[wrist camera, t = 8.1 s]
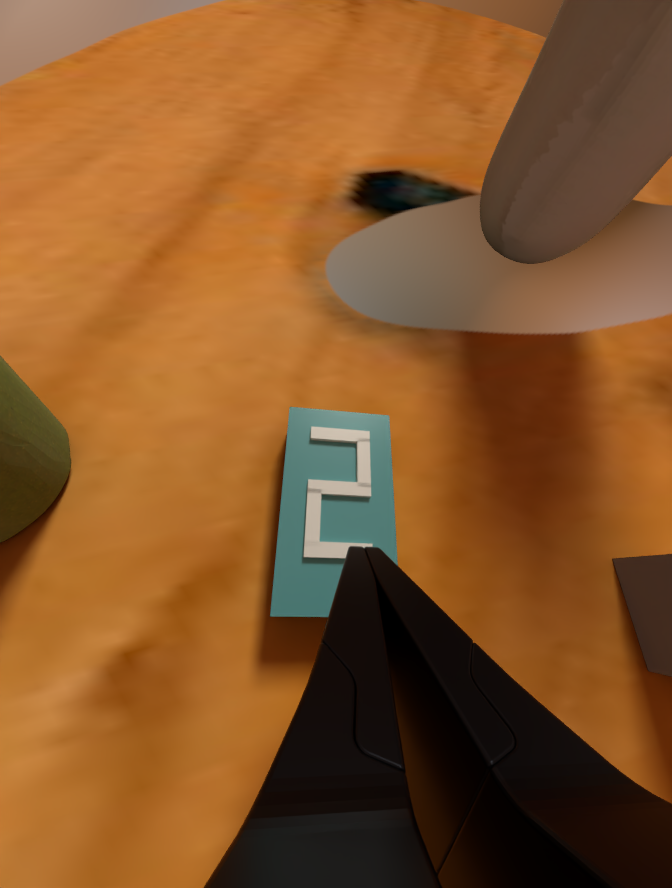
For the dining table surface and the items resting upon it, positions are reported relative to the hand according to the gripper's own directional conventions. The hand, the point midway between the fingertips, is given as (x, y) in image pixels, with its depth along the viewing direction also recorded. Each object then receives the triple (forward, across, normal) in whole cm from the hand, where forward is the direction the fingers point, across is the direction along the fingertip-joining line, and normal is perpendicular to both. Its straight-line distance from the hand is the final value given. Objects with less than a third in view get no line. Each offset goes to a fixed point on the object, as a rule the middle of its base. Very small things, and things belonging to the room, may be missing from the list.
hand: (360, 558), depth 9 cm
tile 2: (+2, 0, +5) cm, 6 cm away
